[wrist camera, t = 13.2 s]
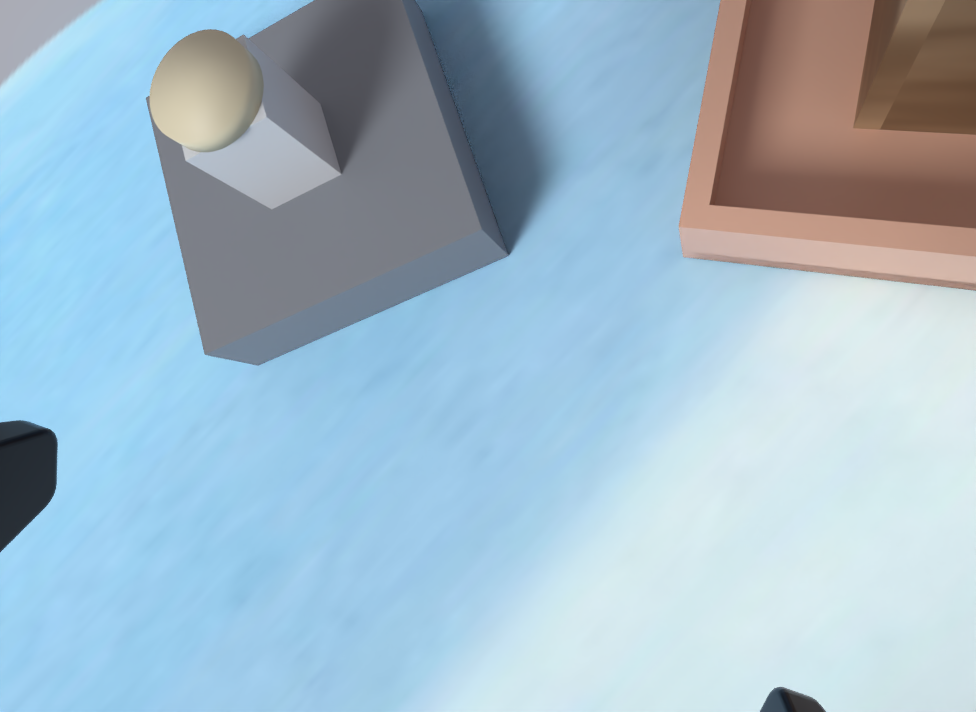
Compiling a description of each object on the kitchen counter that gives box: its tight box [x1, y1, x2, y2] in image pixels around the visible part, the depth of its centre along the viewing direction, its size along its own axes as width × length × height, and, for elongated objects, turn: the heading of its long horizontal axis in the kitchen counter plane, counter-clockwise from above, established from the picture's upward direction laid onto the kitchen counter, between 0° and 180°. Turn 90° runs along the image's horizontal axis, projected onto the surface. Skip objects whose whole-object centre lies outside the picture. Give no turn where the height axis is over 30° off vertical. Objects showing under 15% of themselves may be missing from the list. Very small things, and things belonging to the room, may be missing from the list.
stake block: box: [146, 0, 508, 365], centre depth 19 cm, size 9×9×7 cm
